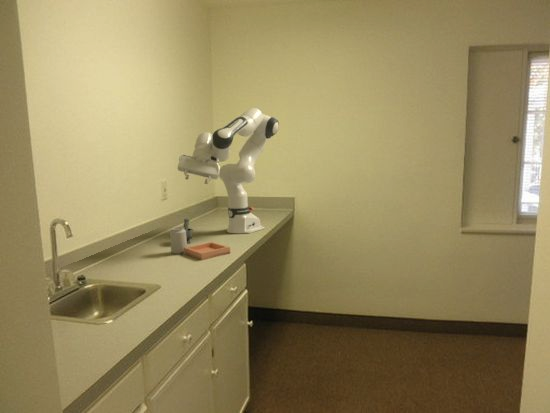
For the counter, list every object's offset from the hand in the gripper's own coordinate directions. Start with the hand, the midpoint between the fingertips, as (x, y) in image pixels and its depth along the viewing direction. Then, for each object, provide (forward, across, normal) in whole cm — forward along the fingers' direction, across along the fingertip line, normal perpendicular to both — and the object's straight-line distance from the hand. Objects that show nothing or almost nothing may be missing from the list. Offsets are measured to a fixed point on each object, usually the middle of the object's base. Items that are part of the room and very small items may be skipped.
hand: (196, 180), depth 201 cm
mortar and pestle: (+16, +2, +35) cm, 38 cm away
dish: (+30, +12, +13) cm, 35 cm away
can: (+29, 0, +20) cm, 36 cm away
